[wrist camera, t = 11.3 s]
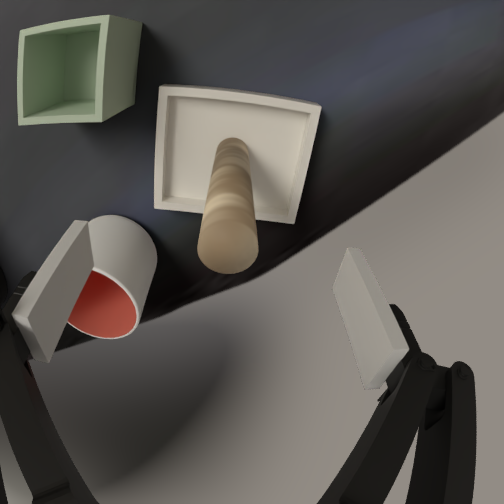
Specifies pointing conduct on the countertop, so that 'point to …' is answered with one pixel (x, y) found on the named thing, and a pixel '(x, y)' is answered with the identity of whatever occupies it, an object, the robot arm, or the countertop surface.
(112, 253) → the cup
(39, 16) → the countertop surface
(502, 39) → the countertop surface
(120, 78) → the pen pot
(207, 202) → the dowel
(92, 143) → the countertop surface
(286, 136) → the dish
